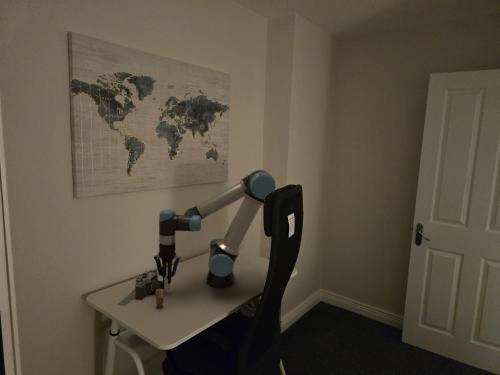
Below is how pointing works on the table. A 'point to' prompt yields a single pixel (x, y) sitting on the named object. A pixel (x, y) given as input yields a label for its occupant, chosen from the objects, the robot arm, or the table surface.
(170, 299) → the table surface
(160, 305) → the brown rounded cylinder
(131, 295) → the strip
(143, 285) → the camera
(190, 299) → the table surface
